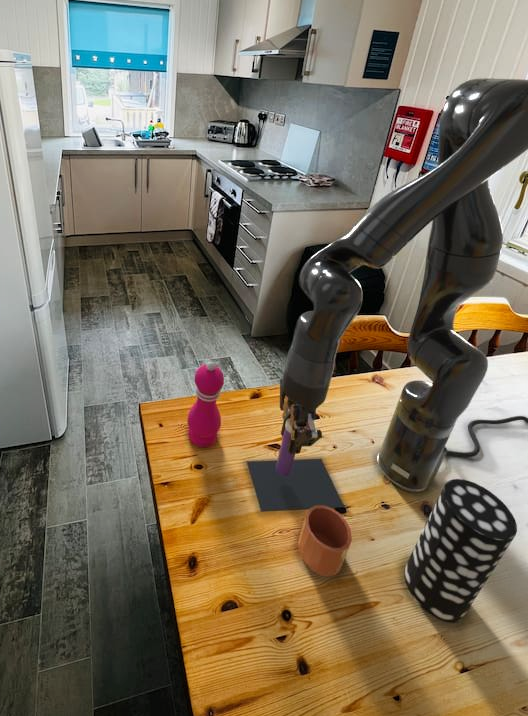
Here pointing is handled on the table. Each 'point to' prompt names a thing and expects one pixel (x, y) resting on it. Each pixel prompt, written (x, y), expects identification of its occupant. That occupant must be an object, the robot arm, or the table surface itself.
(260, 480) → the mat
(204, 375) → the pepper mill
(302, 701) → the table surface
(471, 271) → the robot arm
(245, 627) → the table surface
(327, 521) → the cup
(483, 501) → the white-spotted black cylinder
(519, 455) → the table surface
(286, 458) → the glue stick
